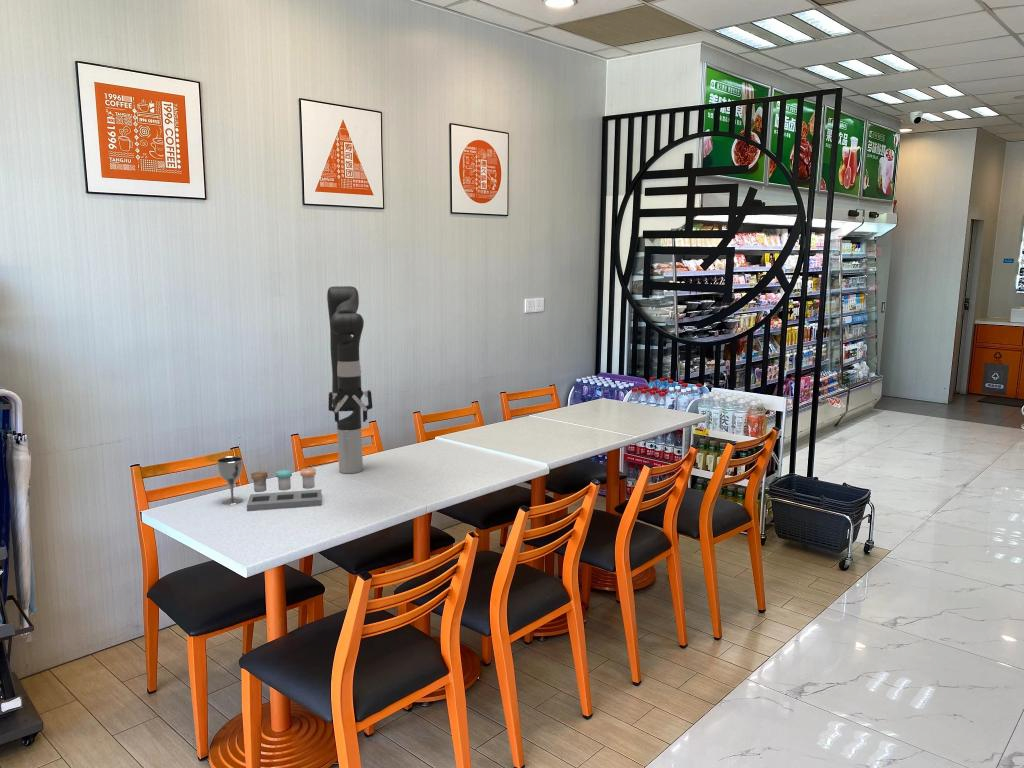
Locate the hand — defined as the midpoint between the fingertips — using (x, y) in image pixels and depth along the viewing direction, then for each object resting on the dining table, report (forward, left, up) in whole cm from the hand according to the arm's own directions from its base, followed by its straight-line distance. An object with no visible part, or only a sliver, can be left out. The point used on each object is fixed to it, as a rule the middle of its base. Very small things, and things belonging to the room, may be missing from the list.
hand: (351, 422), depth 255 cm
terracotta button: (-10, -15, -24) cm, 30 cm away
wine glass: (-16, -41, -30) cm, 53 cm away
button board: (-10, -23, -29) cm, 39 cm away
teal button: (-10, -23, -24) cm, 35 cm away
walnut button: (-10, -31, -24) cm, 41 cm away
